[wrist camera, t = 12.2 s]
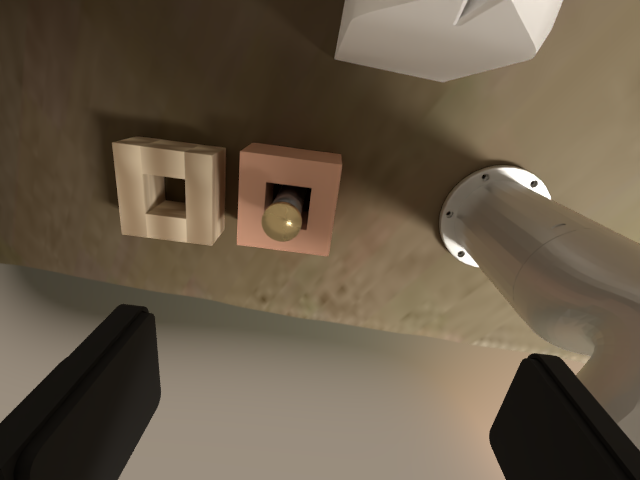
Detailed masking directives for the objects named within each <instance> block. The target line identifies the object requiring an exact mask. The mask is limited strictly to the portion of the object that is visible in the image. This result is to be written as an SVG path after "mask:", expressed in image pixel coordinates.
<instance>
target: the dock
mask: <svg viewBox="0 0 640 480" xmlns="http://www.w3.org/2000/svg"><path fill="white" fill-rule="evenodd" d="M341 171H342V158H341V154H336V153H328V152H321V151H313V150H306V149H298V148H291V147H283V146H276V145H268V144H261V143H251V144H250V145H248V146H247V147H245V148H244V149H242V150H241V151H240V166H239V195H238V225H237V245H243V246H251V247H259V248H267V249H275V250H283V251H290V252H298V253H306V254H314V255H322V256H329V250H330V244H331V237H332V230H333V224H334V217H335V211H336V204H337V198H338V191H339V184H340V178H341ZM274 183H277V184H285V185H292V186H300V187H307V188H312V190H311V198H310V206H309V212H307V211H302V212H301V217H302V225H301V229H300V232H299V233H298V235H297V236H296V237H295V238H293V239H292V240H289V241H285V242H280V241H276V240H273V239H271V238H270V237H269V236H267V235H266V233H265V232H264V230H263V228H262V223H261V220H262V216H263V214H264V212H265V210H266V209H267V207H268V206H270V205H271V204H272V202H273V189H274Z"/></svg>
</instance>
